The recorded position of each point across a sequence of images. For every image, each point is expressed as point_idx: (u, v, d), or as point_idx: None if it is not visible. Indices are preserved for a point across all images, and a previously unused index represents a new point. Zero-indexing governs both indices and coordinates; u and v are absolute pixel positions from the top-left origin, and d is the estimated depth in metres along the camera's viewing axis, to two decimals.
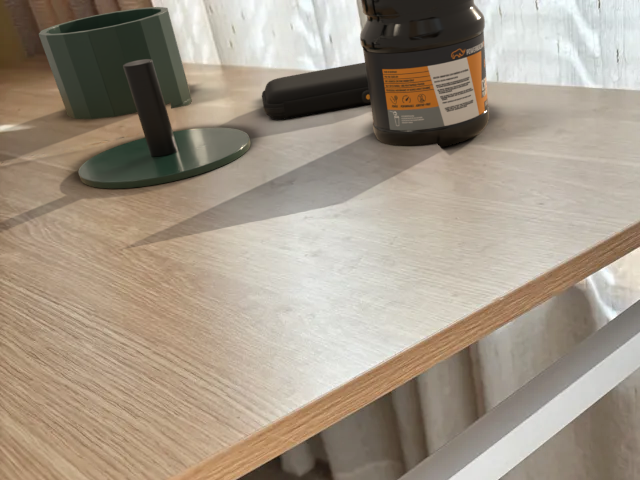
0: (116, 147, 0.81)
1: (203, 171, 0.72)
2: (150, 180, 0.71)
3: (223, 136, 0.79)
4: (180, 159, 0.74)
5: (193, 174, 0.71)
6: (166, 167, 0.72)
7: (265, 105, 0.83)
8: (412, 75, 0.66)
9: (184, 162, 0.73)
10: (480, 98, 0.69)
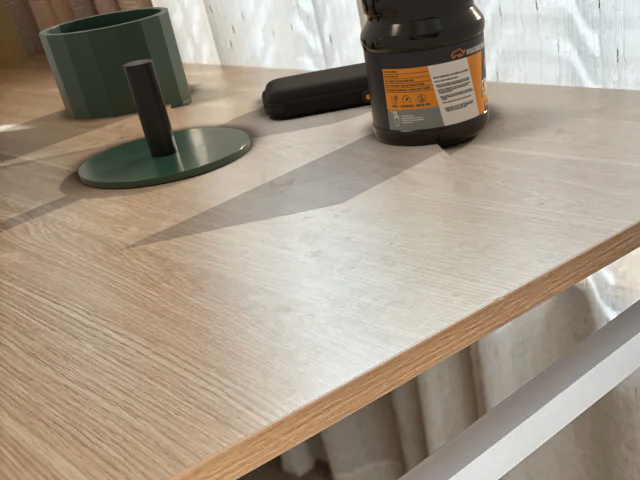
0: (116, 147, 0.81)
1: (203, 171, 0.72)
2: (150, 180, 0.71)
3: (223, 136, 0.79)
4: (180, 159, 0.74)
5: (193, 174, 0.71)
6: (166, 167, 0.72)
7: (265, 105, 0.83)
8: (412, 75, 0.66)
9: (184, 162, 0.73)
10: (480, 98, 0.69)
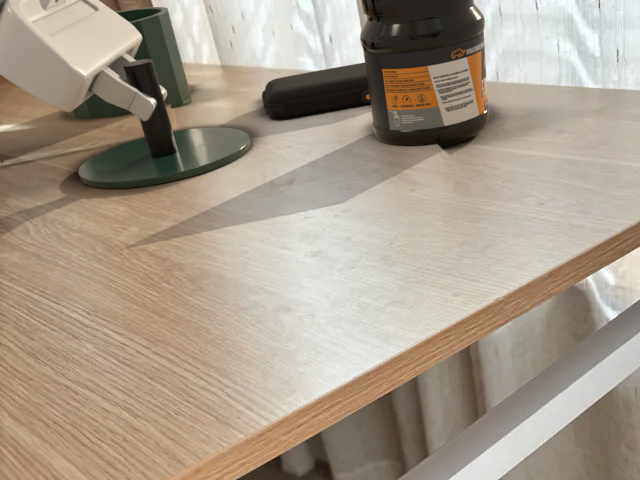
0: (116, 147, 0.81)
1: (203, 171, 0.72)
2: (150, 180, 0.71)
3: (223, 136, 0.79)
4: (180, 159, 0.74)
5: (193, 174, 0.71)
6: (166, 167, 0.72)
7: (265, 105, 0.83)
8: (412, 75, 0.66)
9: (184, 162, 0.73)
10: (480, 98, 0.69)
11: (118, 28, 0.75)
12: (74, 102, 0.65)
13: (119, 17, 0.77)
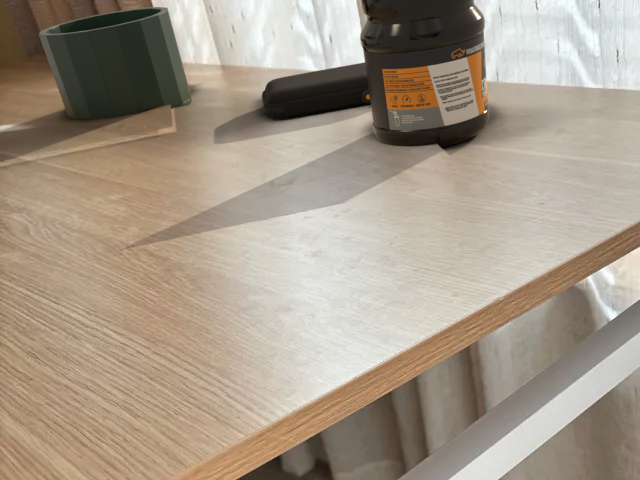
0: None
1: None
2: None
3: None
4: None
5: None
6: None
7: (265, 105, 0.83)
8: (412, 75, 0.66)
9: None
10: (480, 98, 0.69)
11: None
12: None
13: None
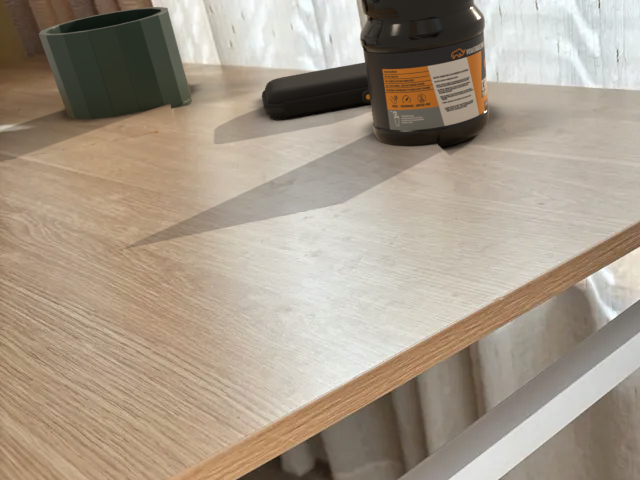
0: None
1: None
2: None
3: None
4: None
5: None
6: None
7: (265, 105, 0.83)
8: (412, 75, 0.66)
9: None
10: (480, 98, 0.69)
11: None
12: None
13: None
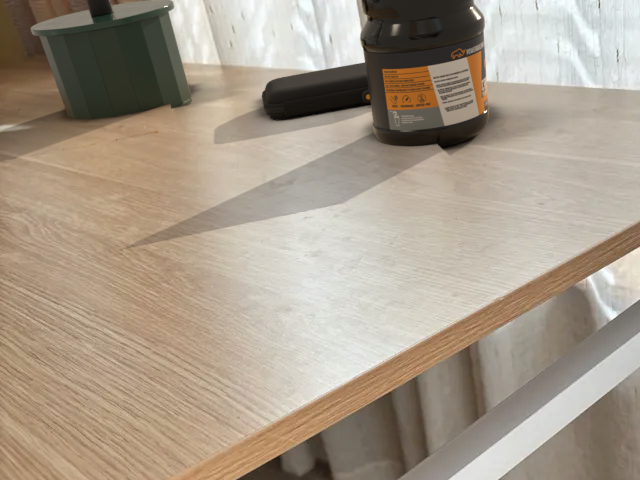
0: (65, 15, 0.97)
1: (130, 21, 0.88)
2: (86, 27, 0.87)
3: (152, 3, 0.95)
4: (113, 15, 0.90)
5: (122, 23, 0.87)
6: (101, 19, 0.89)
7: (265, 105, 0.83)
8: (412, 75, 0.66)
9: (116, 16, 0.89)
10: (480, 98, 0.69)
11: None
12: None
13: None
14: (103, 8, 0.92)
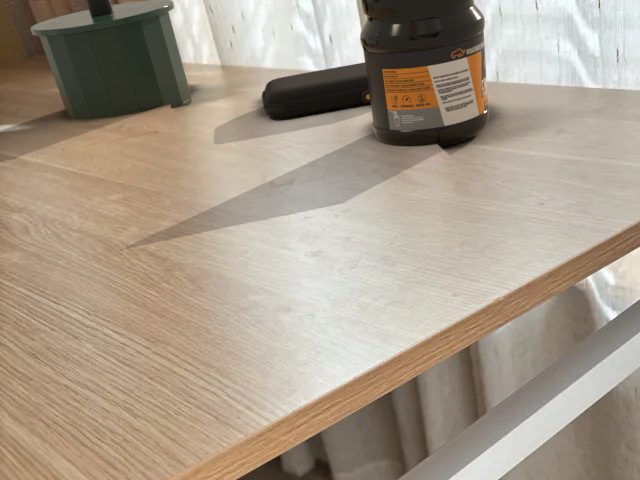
0: (65, 15, 0.97)
1: (130, 21, 0.88)
2: (86, 27, 0.87)
3: (152, 3, 0.95)
4: (113, 15, 0.90)
5: (122, 23, 0.87)
6: (101, 19, 0.89)
7: (265, 105, 0.83)
8: (412, 75, 0.66)
9: (116, 16, 0.89)
10: (480, 98, 0.69)
11: None
12: None
13: None
14: (103, 8, 0.92)
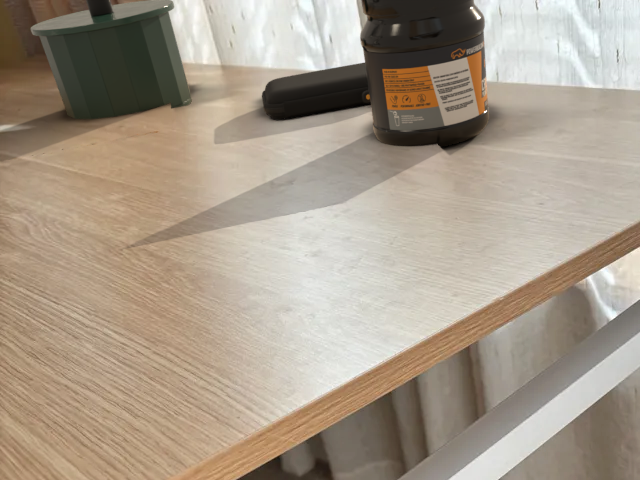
0: (65, 15, 0.97)
1: (130, 21, 0.88)
2: (86, 27, 0.87)
3: (152, 3, 0.95)
4: (113, 15, 0.90)
5: (122, 23, 0.87)
6: (101, 19, 0.89)
7: (265, 105, 0.83)
8: (412, 75, 0.66)
9: (116, 16, 0.89)
10: (480, 98, 0.69)
11: None
12: None
13: None
14: (103, 8, 0.92)
